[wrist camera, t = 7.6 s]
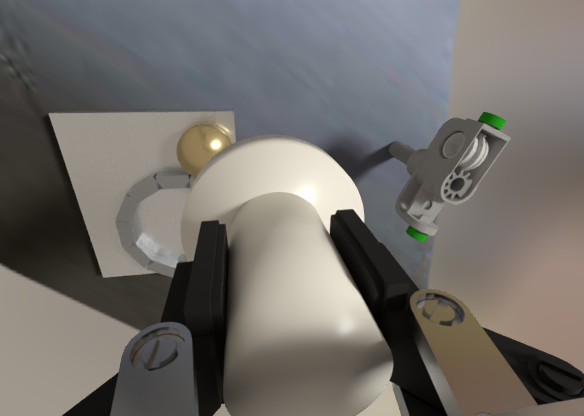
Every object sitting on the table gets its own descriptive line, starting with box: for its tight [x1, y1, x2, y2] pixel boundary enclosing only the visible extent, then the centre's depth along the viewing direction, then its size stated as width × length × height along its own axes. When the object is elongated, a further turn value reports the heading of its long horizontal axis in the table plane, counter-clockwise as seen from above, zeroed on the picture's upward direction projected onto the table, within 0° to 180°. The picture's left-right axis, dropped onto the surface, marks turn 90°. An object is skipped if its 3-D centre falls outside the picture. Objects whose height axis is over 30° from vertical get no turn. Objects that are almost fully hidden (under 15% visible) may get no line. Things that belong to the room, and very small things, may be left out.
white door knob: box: [180, 135, 393, 416], centre depth 10 cm, size 7×7×8 cm
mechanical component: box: [389, 112, 511, 242], centre depth 27 cm, size 3×10×10 cm, turn 156°
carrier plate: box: [49, 109, 236, 278], centre depth 28 cm, size 16×14×3 cm
